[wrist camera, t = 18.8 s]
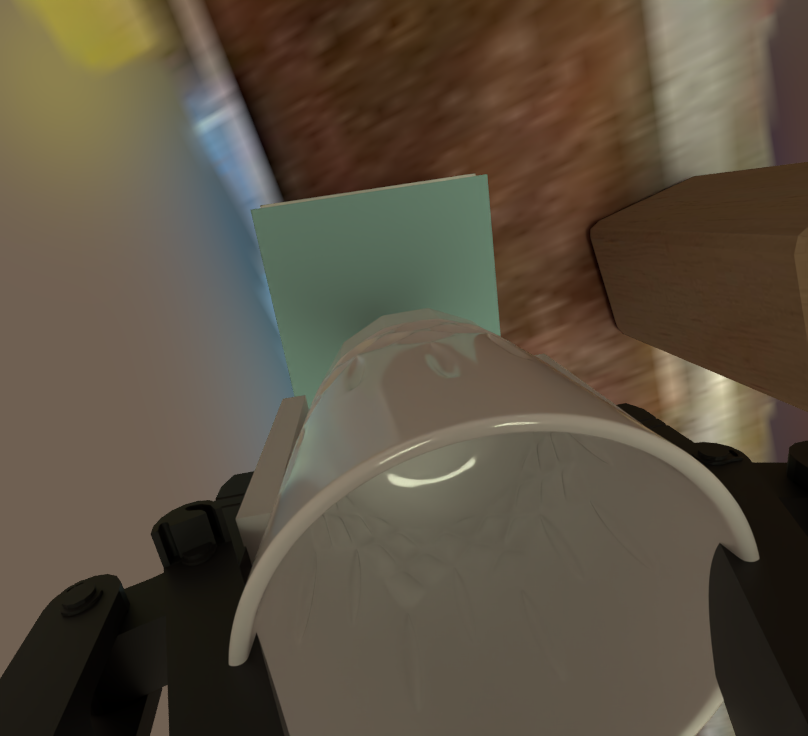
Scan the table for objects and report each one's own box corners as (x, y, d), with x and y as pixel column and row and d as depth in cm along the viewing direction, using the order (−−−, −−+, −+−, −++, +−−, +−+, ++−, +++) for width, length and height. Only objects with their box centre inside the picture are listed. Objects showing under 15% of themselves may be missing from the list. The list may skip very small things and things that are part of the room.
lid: (259, 210, 27) (250, 209, 24) (475, 178, 27) (487, 174, 25) (313, 444, 31) (310, 462, 29) (496, 411, 32) (507, 427, 30)
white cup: (262, 344, 15) (107, 563, 6) (489, 251, 15) (726, 316, 5) (358, 530, 18) (363, 896, 8) (553, 453, 17) (789, 735, 8)
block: (614, 335, 41) (841, 435, 22) (581, 226, 38) (812, 233, 19) (721, 286, 40) (1046, 345, 21) (697, 172, 37) (1052, 122, 18)
